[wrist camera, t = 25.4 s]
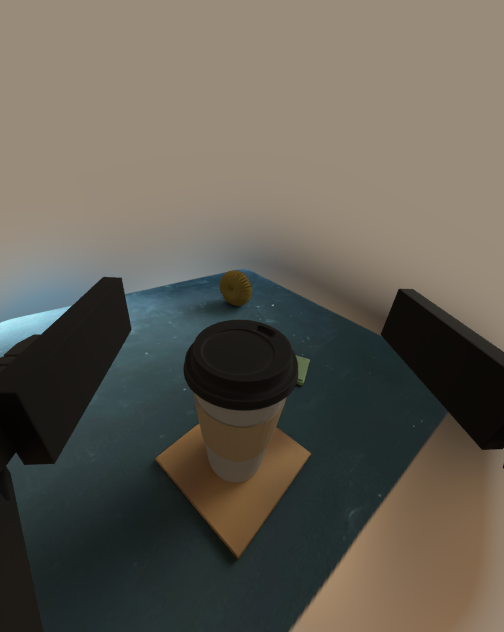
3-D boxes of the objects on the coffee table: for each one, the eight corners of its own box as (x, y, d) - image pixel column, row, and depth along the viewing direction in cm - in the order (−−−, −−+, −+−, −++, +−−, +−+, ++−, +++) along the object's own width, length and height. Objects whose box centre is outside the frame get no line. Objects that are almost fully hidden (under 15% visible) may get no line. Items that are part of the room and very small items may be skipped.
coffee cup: (282, 428, 32) (304, 325, 24) (271, 516, 24) (299, 403, 16) (208, 411, 33) (207, 308, 25) (174, 489, 25) (158, 373, 17)
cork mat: (310, 456, 29) (311, 453, 29) (238, 560, 21) (238, 557, 21) (234, 398, 36) (234, 395, 35) (156, 461, 28) (155, 457, 27)
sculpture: (254, 306, 59) (257, 273, 55) (243, 313, 56) (246, 279, 52) (226, 296, 63) (227, 264, 59) (215, 301, 60) (216, 268, 56)
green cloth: (309, 362, 44) (310, 358, 43) (302, 386, 39) (303, 381, 38) (254, 346, 46) (254, 342, 46) (241, 366, 41) (241, 362, 41)
